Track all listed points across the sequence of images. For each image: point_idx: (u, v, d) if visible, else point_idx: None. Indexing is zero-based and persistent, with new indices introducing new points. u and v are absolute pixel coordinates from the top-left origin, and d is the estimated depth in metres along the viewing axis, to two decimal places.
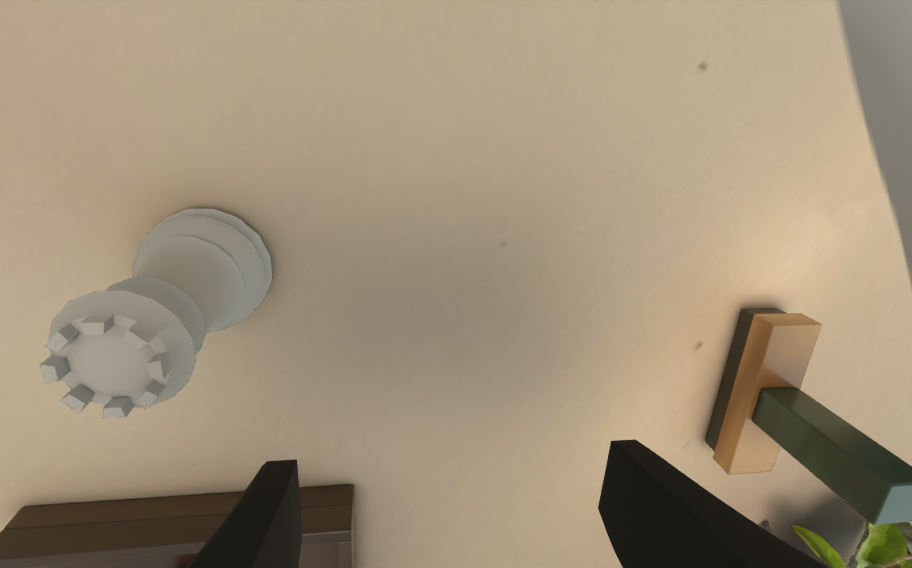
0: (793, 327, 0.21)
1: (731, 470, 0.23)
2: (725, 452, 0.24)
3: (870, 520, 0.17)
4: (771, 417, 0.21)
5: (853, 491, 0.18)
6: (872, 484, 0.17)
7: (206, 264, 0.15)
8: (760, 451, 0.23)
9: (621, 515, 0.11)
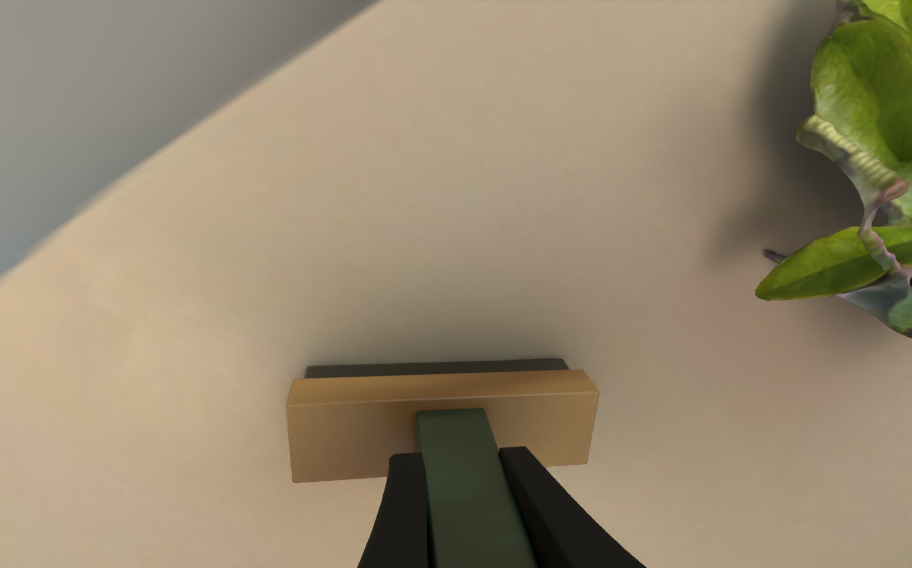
0: (295, 450, 0.12)
1: (578, 462, 0.14)
2: None
3: None
4: None
5: None
6: None
7: None
8: (549, 426, 0.13)
9: None
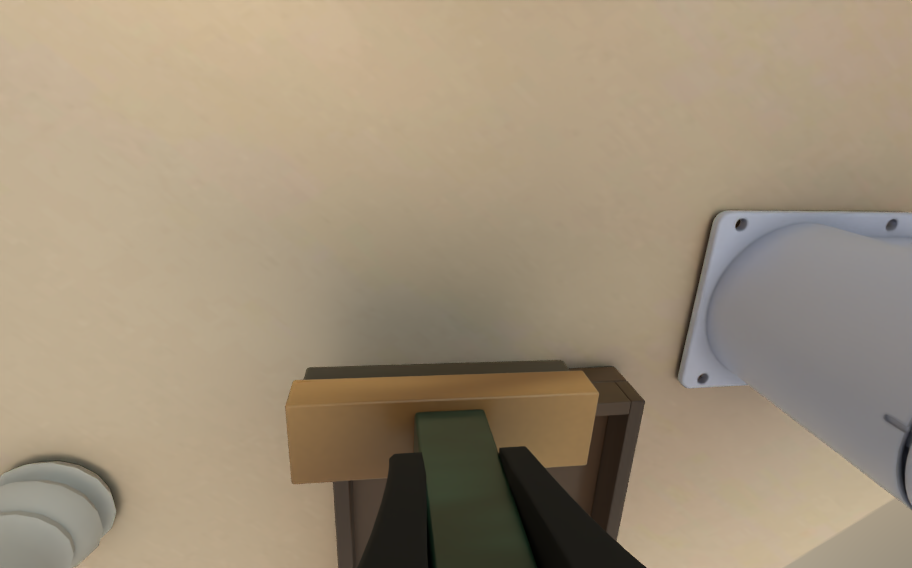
0: (295, 451, 0.12)
1: (578, 463, 0.14)
2: None
3: None
4: None
5: None
6: None
7: None
8: (548, 427, 0.13)
9: None
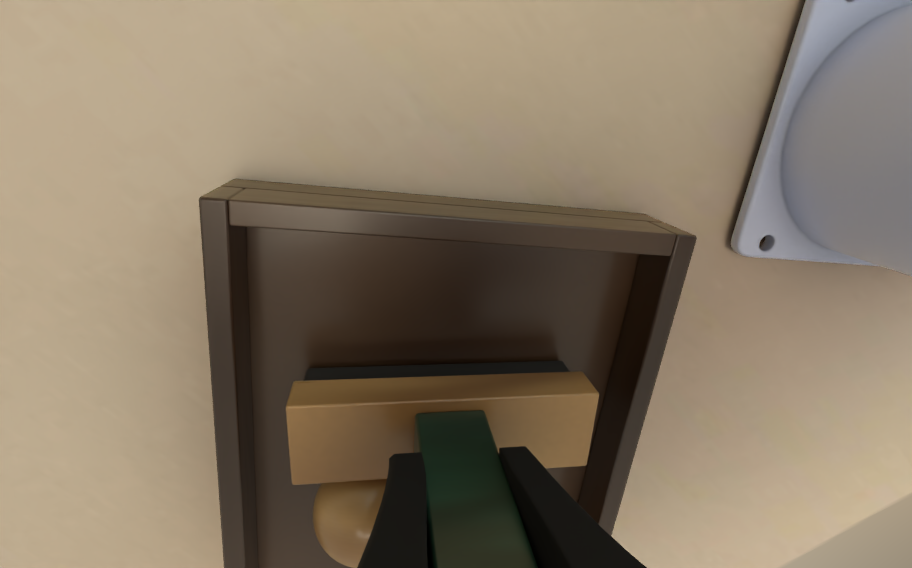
0: (295, 452, 0.12)
1: (578, 464, 0.14)
2: None
3: None
4: None
5: None
6: None
7: None
8: (548, 428, 0.13)
9: None
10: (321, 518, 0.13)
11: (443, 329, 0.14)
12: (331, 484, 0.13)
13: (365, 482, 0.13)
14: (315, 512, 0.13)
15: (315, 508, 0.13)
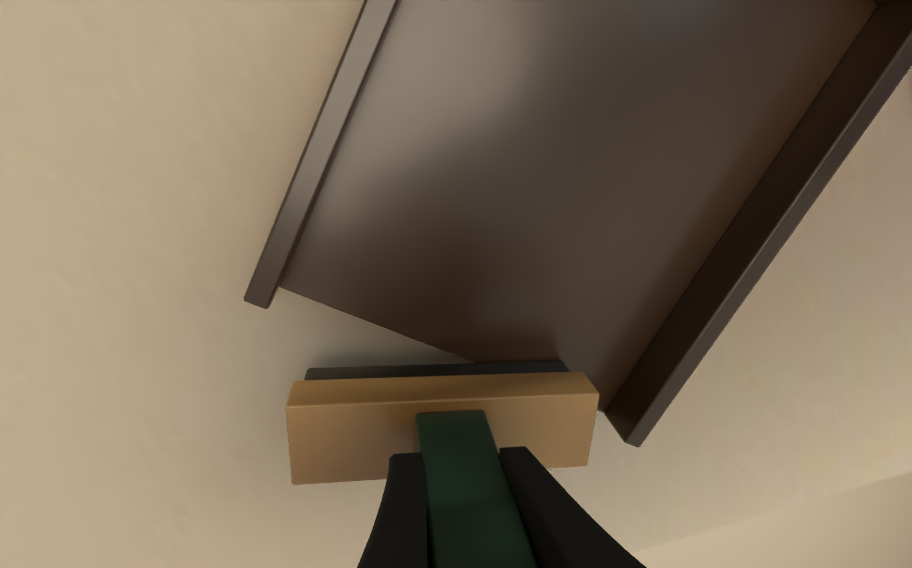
0: (295, 452, 0.12)
1: (578, 464, 0.14)
2: None
3: None
4: None
5: None
6: None
7: None
8: (549, 428, 0.13)
9: None
10: None
11: (649, 6, 0.12)
12: None
13: None
14: None
15: None
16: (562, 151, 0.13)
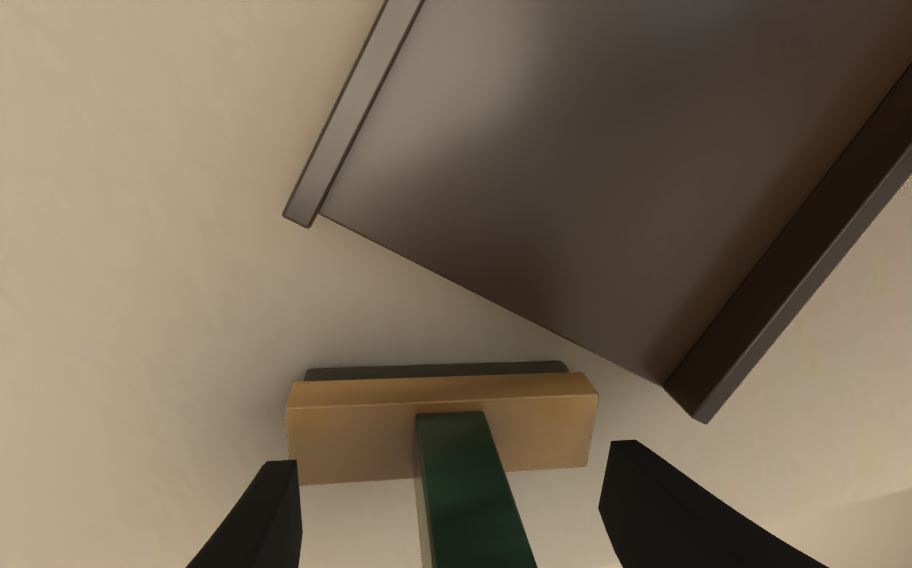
0: (294, 453, 0.12)
1: (578, 465, 0.14)
2: None
3: None
4: None
5: None
6: None
7: None
8: (548, 429, 0.13)
9: (621, 515, 0.11)
10: None
11: None
12: None
13: None
14: None
15: None
16: (652, 75, 0.11)
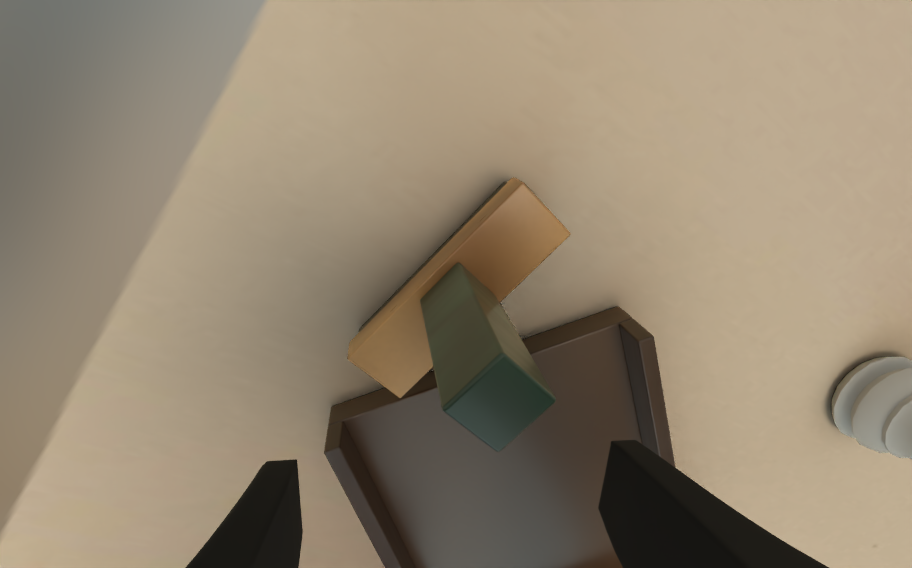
0: (540, 208, 0.15)
1: (354, 355, 0.16)
2: (365, 333, 0.16)
3: (444, 403, 0.10)
4: (441, 291, 0.14)
5: (455, 366, 0.11)
6: (483, 354, 0.10)
7: None
8: (404, 357, 0.16)
9: (621, 515, 0.11)
10: None
11: (546, 556, 0.22)
12: None
13: None
14: None
15: None
16: (529, 493, 0.20)
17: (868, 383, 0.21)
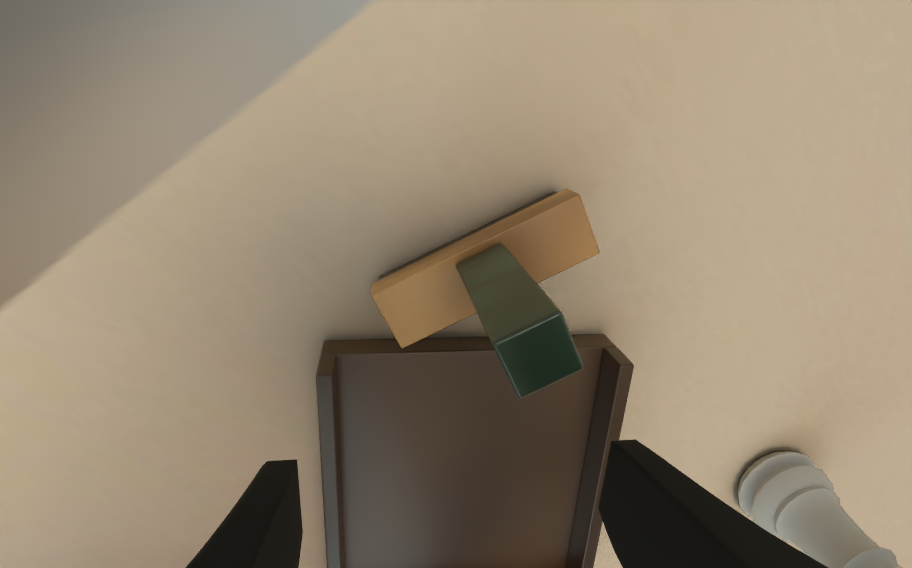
0: (584, 221, 0.17)
1: (378, 294, 0.17)
2: (393, 279, 0.17)
3: (495, 339, 0.11)
4: (483, 261, 0.16)
5: (506, 314, 0.12)
6: (538, 309, 0.12)
7: None
8: (421, 311, 0.17)
9: (621, 515, 0.11)
10: None
11: (463, 545, 0.23)
12: None
13: None
14: None
15: None
16: (472, 479, 0.22)
17: (775, 469, 0.25)
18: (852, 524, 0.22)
